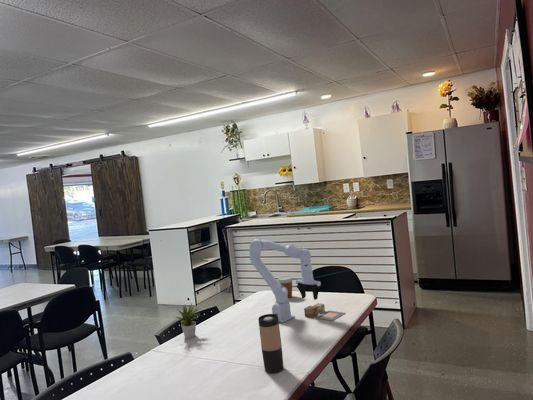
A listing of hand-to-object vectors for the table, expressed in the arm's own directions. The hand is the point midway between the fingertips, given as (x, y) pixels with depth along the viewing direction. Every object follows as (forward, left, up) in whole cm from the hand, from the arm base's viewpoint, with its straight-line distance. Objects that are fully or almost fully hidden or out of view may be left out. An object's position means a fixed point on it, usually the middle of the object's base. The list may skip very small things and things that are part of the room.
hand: (309, 298), depth 203 cm
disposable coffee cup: (+21, +35, -9) cm, 42 cm away
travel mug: (-54, -23, -9) cm, 59 cm away
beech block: (+7, 0, -9) cm, 12 cm away
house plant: (-50, +37, -9) cm, 63 cm away
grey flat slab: (+4, -9, -9) cm, 13 cm away
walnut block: (0, 0, -9) cm, 9 cm away
